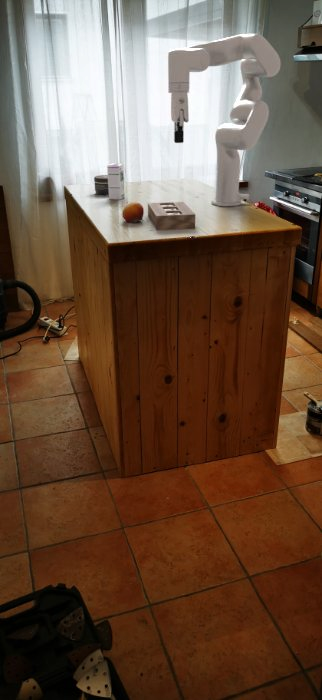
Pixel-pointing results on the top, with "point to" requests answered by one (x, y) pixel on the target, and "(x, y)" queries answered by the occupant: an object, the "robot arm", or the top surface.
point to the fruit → (133, 212)
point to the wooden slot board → (171, 216)
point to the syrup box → (115, 181)
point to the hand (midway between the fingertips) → (178, 142)
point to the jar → (101, 184)
